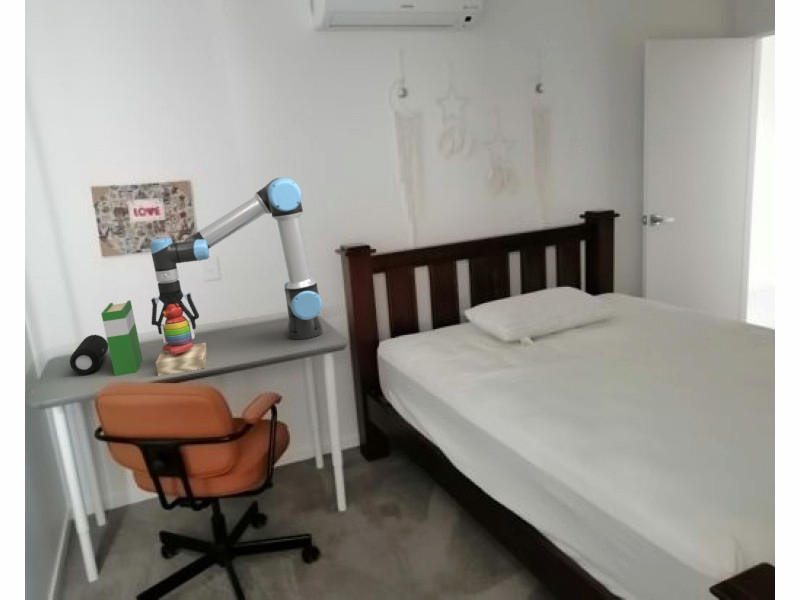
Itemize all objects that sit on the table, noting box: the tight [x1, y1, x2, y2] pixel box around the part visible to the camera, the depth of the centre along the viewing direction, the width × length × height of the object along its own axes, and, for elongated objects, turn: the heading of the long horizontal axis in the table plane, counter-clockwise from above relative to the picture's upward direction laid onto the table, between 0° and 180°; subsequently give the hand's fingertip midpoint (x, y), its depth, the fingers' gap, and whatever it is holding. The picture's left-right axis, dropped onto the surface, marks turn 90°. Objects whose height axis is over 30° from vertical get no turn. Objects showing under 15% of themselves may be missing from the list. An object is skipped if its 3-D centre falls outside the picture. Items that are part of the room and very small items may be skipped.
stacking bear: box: [162, 303, 194, 354], centre depth 222 cm, size 11×10×18 cm
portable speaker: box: [69, 334, 109, 375], centre depth 235 cm, size 26×10×10 cm, turn 17°
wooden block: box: [155, 342, 208, 377], centre depth 225 cm, size 16×17×5 cm
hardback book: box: [100, 300, 143, 377], centre depth 227 cm, size 18×7×24 cm, turn 16°
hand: (179, 339), depth 224 cm, fingers closed on stacking bear, 9 cm apart
